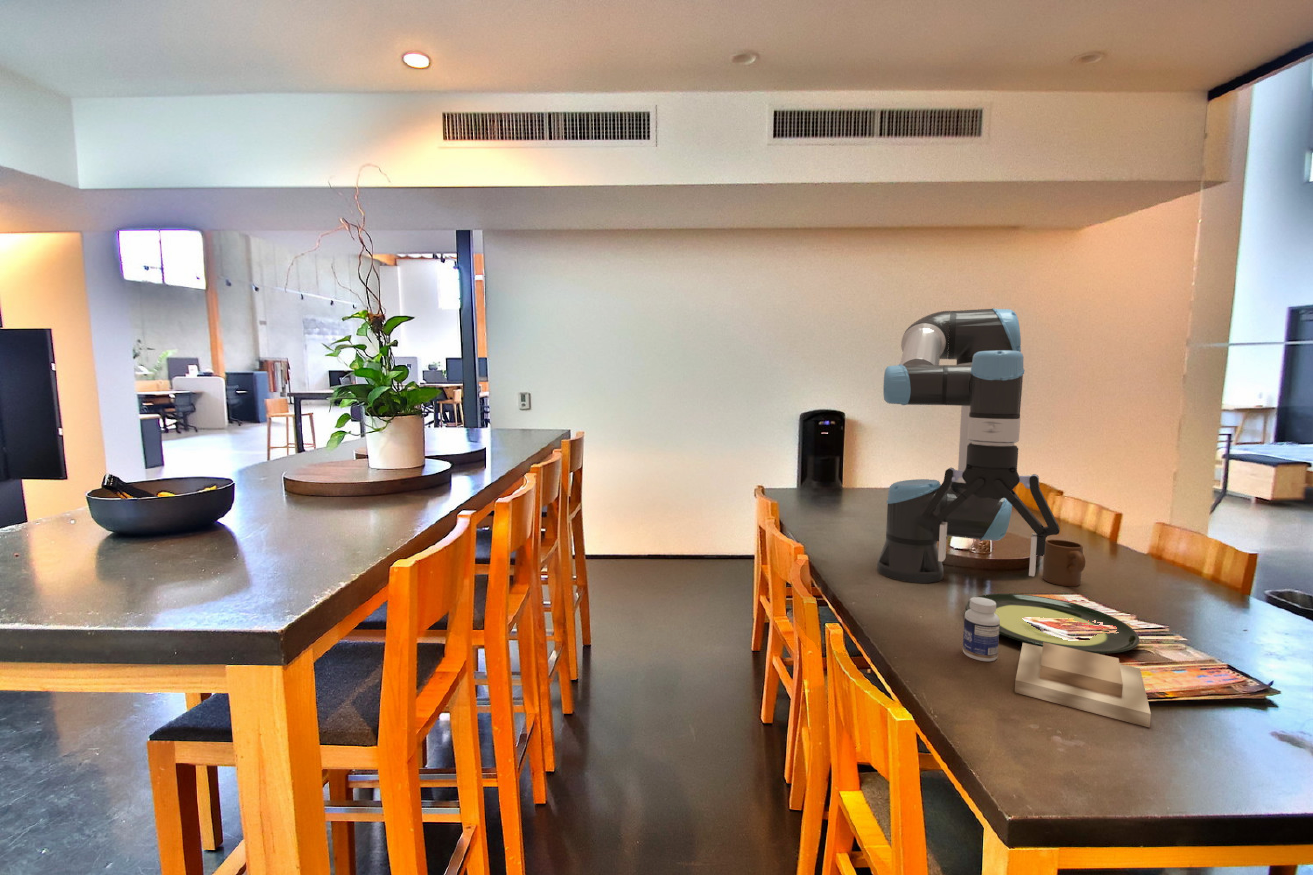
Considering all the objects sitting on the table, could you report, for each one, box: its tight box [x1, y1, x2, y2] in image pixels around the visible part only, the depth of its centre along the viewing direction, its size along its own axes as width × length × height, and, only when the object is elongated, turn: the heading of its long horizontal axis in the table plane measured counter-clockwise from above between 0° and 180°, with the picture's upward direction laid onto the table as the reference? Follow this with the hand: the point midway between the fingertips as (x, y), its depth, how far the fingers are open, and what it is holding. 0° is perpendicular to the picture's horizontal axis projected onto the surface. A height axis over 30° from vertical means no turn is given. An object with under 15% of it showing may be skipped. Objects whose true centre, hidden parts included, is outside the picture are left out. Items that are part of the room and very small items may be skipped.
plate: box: [964, 593, 1141, 655], centre depth 114 cm, size 28×28×2 cm
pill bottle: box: [962, 596, 1000, 662], centre depth 103 cm, size 5×5×10 cm
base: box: [1014, 642, 1152, 729], centre depth 93 cm, size 16×16×4 cm
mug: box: [1042, 539, 1086, 587], centre depth 139 cm, size 12×8×9 cm, turn 172°
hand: (985, 566), depth 102 cm, fingers open, 13 cm apart
